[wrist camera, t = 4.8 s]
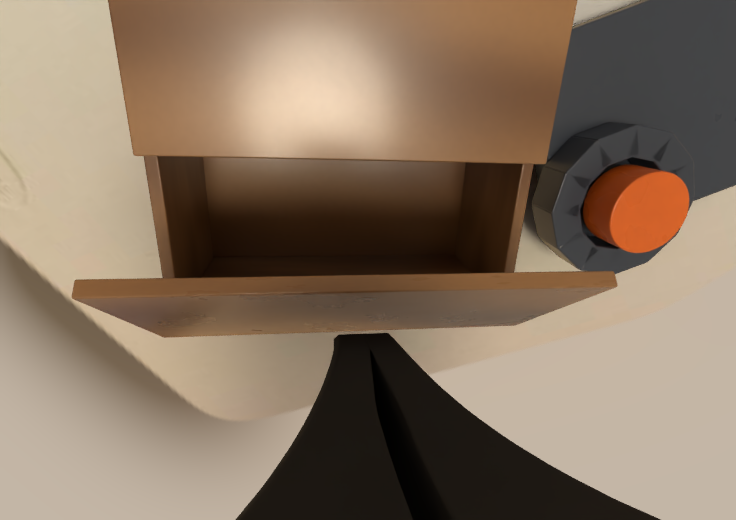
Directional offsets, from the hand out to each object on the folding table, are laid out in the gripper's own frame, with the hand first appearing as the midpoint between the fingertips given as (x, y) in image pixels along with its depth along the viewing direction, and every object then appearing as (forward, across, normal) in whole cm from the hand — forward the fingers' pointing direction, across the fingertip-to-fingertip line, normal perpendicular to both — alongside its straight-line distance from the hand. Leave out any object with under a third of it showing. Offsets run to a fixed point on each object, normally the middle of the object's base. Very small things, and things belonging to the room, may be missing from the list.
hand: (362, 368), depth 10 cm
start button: (+7, -11, -3) cm, 14 cm away
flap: (+2, 0, -1) cm, 2 cm away
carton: (+10, 0, -4) cm, 11 cm away
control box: (+10, -13, -6) cm, 17 cm away
